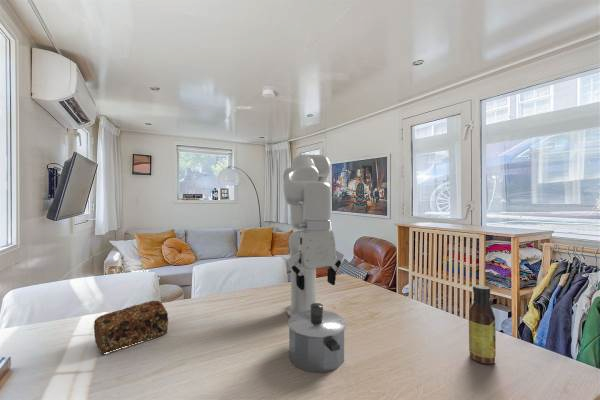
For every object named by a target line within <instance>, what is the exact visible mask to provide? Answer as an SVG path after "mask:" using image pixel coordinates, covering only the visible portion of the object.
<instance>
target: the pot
mask: <svg viewBox="0 0 600 400" xmlns="http://www.w3.org/2000/svg"><path fill="white" fill-rule="evenodd" d="M288 329H289V330H288V331H289V334H288V335H289V342H288V343H289V345H288V350H289V353H288V355H289V356H288V359H289V360H290V362H291V363H292V364H293V366H294V367H296V368H297V369H300V370H303V371H304V372H307V373H318V374H319V373H320V374H323V373H327V372H331V371H334V370H338V369H339V367H340V366H341V365H342V364H344V362H345V330H344V331H343V332H342V333H340V334H338V335H336V336H333V337H328V338H309V337H304V336H301V335H298V334H296V333H294V332H293V331H291V330H290V328H289V327H288Z"/></svg>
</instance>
